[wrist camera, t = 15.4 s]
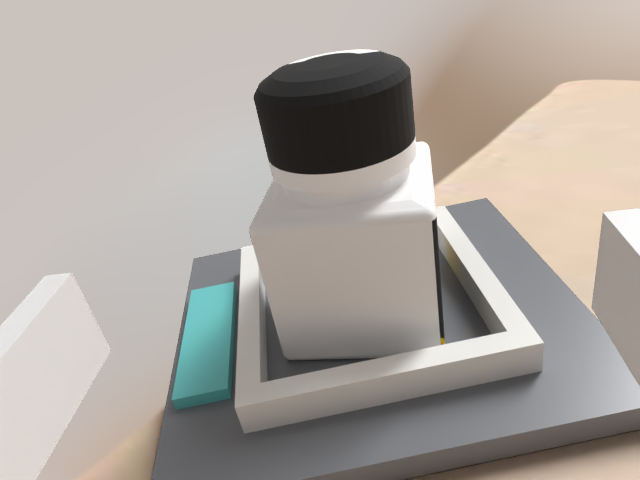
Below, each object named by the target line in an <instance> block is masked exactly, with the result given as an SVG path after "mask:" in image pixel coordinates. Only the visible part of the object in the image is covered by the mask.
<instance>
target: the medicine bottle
mask: <svg viewBox="0 0 640 480" xmlns="http://www.w3.org/2000/svg"><path fill="white" fill-rule="evenodd" d="M254 101H255V105H256V109H257V113H258V118H259V122H260V126H261V130H262V135H263V139H264V143H265V147H266V151H267V156H268V160H269V164H270V168H271V172H272V176H273V181H272V183H271V185H270V187H269V189H268V191H267V193H266V195H265V197H264V199H263V201H262V203H261V205H260V207H259V209H258V211H257V213H256V215H255V217H254V219H253V221H252V224H251V225H250V237H251V241H252V244H253V248H254V252H255V255H256V259H257V262H258V266H259V269H260V273H261V277H262V280H263V284H264V287H265V291H266V294H267V298H268V302H269V305H270V309H271V312H272V316H273V319H274V323H275V327H276V330H277V334H278V337H279V341H280V344H281V348H282V352H283V355H284V357H285V358H286V359H287V360H321V359H358V358H382V357H386V356H391V355H396V354H401V353H405V352H410V351H415V350H420V349H425V348H429V347H434V346H439V345H444V344H445V335H444V320H443V305H442V289H441V274H440V259H439V243H438V228H437V214H436V205H435V195H434V186H433V176H432V167H431V158H430V149H429V146H428V144H426V143H425V142H416V136H415V124H414V112H413V99H412V88H411V75H410V68H409V67H408V66H407V65H406V64H405V63H404V62H403V61H402V60H401V59H400V58H399V57H396V56H393V55H390V54H387V53H384V52H381V51H376V50H347V51H338V52H331V53H325V54H321V55H316V56H312V57H308V58H304V59H301V60H297V61H295V62H292V63H289V64H287V65H285V66H282V67H281V68H279V69H277V70H276V71H274V72H273V73H272V74H271V75H269V76H268V77H267V78H265V79H264V80H263V81H262V82H261V83H260V84H259V86H258V88H257V90H256V92H255V94H254Z"/></svg>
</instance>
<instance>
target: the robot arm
mask: <svg viewBox="0 0 640 480" xmlns="http://www.w3.org/2000/svg"><path fill="white" fill-rule="evenodd" d="M592 309H593V311H594V312H595V314H596V316H597V317H598V319H599V321H600V322H601V324H602V326H603V327H604V329H605V330H606V332H607V334H608V335H609V337H610V339H611V340H612V342H613V344H614V345H615V347H616V349H617V350H618V352H619V354H620V355H621V357H622V358H623V360H624V362H625V363H626V365H627V367H628V368H629V370H630V372H631V373H632V375H633V377H634V378H635V380H636V382H637V383H638V385H639V386H640V208H637V209H628V210H619V211H610V212H603V217H602V225H601V234H600V242H599V250H598V259H597V267H596V275H595V284H594V292H593V300H592ZM110 351H111V350H110V348H109V346H108V344H107V342H106V340H105V338H104V336H103V334H102V332H101V330H100V328H99V326H98V324H97V322H96V320H95V318H94V316H93V314H92V312H91V310H90V308H89V307H88V304H87V302H86V300H85V298H84V296H83V294H82V293H81V290H80V288H79V287H78V284H77V282H76V280H75V278H74V277H73V275H72V273H65V274H56V275H48V276H45V277H44V278H43V279H42V280H41V281H40V282H39V283H38V284H37V286H36V287H35V288H34V289H33V290H32V291H31V292H30V293H29V294H28V296H27V297H26V298H25V299H24V300H23V301H22V302H21V303H20V305H19V306H18V307H17V308H16V309H15V310H14V311H13V312H12V314H11V315H10V316H9V317H8V318H7V319H6V320H5V321H4V322H3V324H2V325H1V326H0V480H36V479H37V477H38V475H39V474H40V472H41V470H42V468H43V467H44V465H45V463H46V461H47V460H48V458H49V456H50V455H51V453H52V451H53V449H54V448H55V446H56V444H57V443H58V441H59V439H60V437H61V436H62V434H63V432H64V430H65V429H66V427H67V425H68V424H69V422H70V420H71V418H72V417H73V415H74V413H75V412H76V410H77V408H78V406H79V405H80V403H81V401H82V399H83V398H84V396H85V394H86V393H87V391H88V389H89V387H90V386H91V384H92V382H93V381H94V379H95V377H96V375H97V374H98V372H99V370H100V368H101V367H102V365H103V363H104V362H105V360H106V358H107V356H108V355H109V353H110Z"/></svg>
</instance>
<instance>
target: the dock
mask: <svg viewBox="0 0 640 480" xmlns="http://www.w3.org/2000/svg"><path fill="white" fill-rule="evenodd" d="M436 214H437V228H438V243H439V259H440V274H441V289H442V305H443V320H444V335H445V344H444V345H439V346H434V347H429V348H425V349H420V350H415V351H410V352H405V353H401V354H396V355H391V356H386V357H382V358H358V359H321V360H287V359H286V358H285V357H284V355H283V352H282V348H281V344H280V341H279V337H278V334H277V330H276V327H275V323H274V319H273V316H272V312H271V309H270V305H269V302H268V298H267V294H266V291H265V287H264V284H263V280H262V277H261V273H260V269H259V266H258V262H257V259H256V255H255V252H254V248H253V245H251V246H246V247H241V249H238V250H233V251H228V252H223V253H219V254H214V255H209V256H205V257H199V258H194V260H193V265H192V271H191V276H190V281H189V286H188V292H187V297H186V302H185V307H184V312H183V318H182V323H181V328H180V334H179V339H178V344H177V350H176V355H175V359H174V365H173V370H172V375H171V381H170V385H169V391H168V396H167V401H166V406H165V412H164V417H163V422H162V427H161V432H160V438H159V443H158V448H157V453H156V458H155V464H154V469H153V474H152V479H151V480H403V479H408V478H413V477H418V476H422V475H427V474H432V473H436V472H441V471H446V470H451V469H455V468H460V467H465V466H470V465H474V464H479V463H484V462H488V461H493V460H498V459H503V458H507V457H512V456H517V455H522V454H526V453H531V452H536V451H540V450H545V449H550V448H555V447H559V446H564V445H569V444H574V443H578V442H583V441H588V440H592V439H597V438H602V437H607V436H611V435H616V434H621V433H626V432H630V431H635V430H640V386H639V385H638V383H637V382H636V380H635V378H634V377H633V375H632V373H631V372H630V370H629V368H628V367H627V365H626V363H625V362H624V360H623V358H622V357H621V355H620V354H619V352H618V350H617V349H616V347H615V345H614V344H613V342H612V340H611V339H610V337H609V335H608V334H607V332H606V330H605V329H604V327H603V326H602V324H601V322H600V321H599V320H598V319H597V318H596V317H595V316H594V315H593V314H592V312H591V311H590V310H589V309H588V308H587V307H586V306H585V305H584V304H583V303H582V302H581V300H580V299H579V298H578V297H577V296H576V295H575V294H574V293H573V292H572V291H571V290H570V288H569V287H568V286H567V285H566V284H565V283H564V282H563V281H562V280H561V279H560V278H559V276H558V275H557V274H556V273H555V272H554V271H553V270H552V269H551V268H550V267H549V266H548V264H547V263H546V262H545V261H544V260H543V259H542V258H541V257H540V256H539V255H538V254H537V252H536V251H535V250H534V249H533V248H532V247H531V246H530V245H529V244H528V243H527V242H526V240H525V239H524V238H523V237H522V236H521V235H520V234H519V233H518V232H517V231H516V230H515V228H514V227H513V226H512V225H511V224H510V223H509V222H508V221H507V220H506V219H505V218H504V217H503V215H502V214H501V213H500V212H499V211H498V210H497V209H496V208H495V207H494V206H493V205H492V203H491V202H490V201H489V200H488V199H487V198H485V199H480V200H475V201H470V202H465V203H460V204H456V205H451V206H446V207H445V206H439V207H436Z"/></svg>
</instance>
